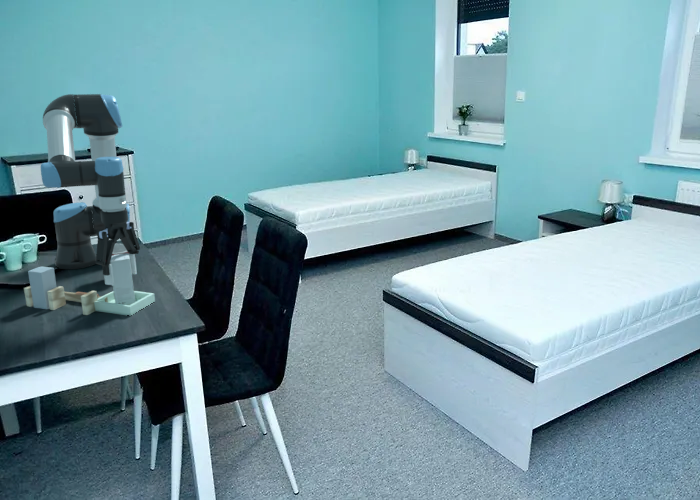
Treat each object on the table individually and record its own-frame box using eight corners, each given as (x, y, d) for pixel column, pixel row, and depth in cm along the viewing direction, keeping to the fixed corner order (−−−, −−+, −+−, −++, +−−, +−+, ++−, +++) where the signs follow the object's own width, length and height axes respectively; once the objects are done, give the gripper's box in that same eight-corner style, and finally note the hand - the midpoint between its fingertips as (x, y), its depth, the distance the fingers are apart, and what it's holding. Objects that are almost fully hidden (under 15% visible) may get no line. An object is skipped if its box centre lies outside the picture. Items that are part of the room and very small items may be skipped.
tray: (118, 297, 184) (117, 288, 183) (155, 302, 180) (154, 293, 179) (92, 310, 173) (91, 301, 172) (131, 316, 169) (130, 306, 168)
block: (46, 301, 179) (40, 266, 176) (59, 303, 178) (53, 267, 174) (33, 307, 175) (27, 271, 171) (46, 309, 173) (41, 272, 170)
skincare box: (136, 304, 173) (131, 259, 169) (115, 307, 171) (109, 261, 166) (133, 295, 180) (129, 251, 176) (113, 298, 178) (108, 254, 174)
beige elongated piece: (48, 296, 184) (46, 279, 182) (108, 304, 177) (106, 286, 176) (26, 306, 175) (23, 288, 174) (87, 315, 169) (85, 296, 167)
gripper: (97, 218, 156) (106, 292, 162) (147, 202, 177) (154, 269, 183) (75, 216, 158) (85, 289, 164) (127, 201, 179) (134, 266, 185)
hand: (121, 278), depth 174 cm, fingers open, 10 cm apart
